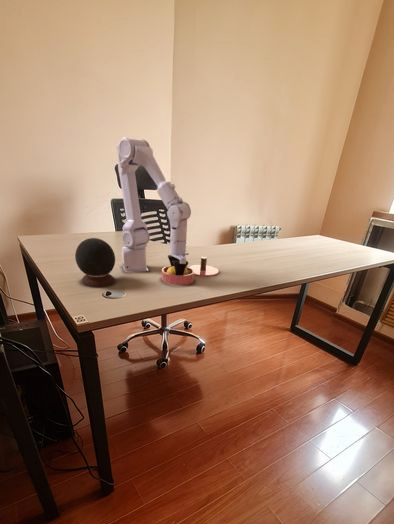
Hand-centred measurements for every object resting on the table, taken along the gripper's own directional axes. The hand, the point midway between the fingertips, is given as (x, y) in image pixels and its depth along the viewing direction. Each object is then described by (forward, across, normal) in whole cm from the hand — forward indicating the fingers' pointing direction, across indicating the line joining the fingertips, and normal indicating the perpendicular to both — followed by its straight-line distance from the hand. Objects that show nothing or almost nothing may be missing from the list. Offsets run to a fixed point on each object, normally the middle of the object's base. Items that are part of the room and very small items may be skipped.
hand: (177, 277), depth 115 cm
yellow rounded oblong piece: (+1, 0, 0) cm, 1 cm away
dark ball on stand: (+2, +3, +29) cm, 29 cm away
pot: (+1, 0, 0) cm, 1 cm away
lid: (+1, +8, -13) cm, 16 cm away
